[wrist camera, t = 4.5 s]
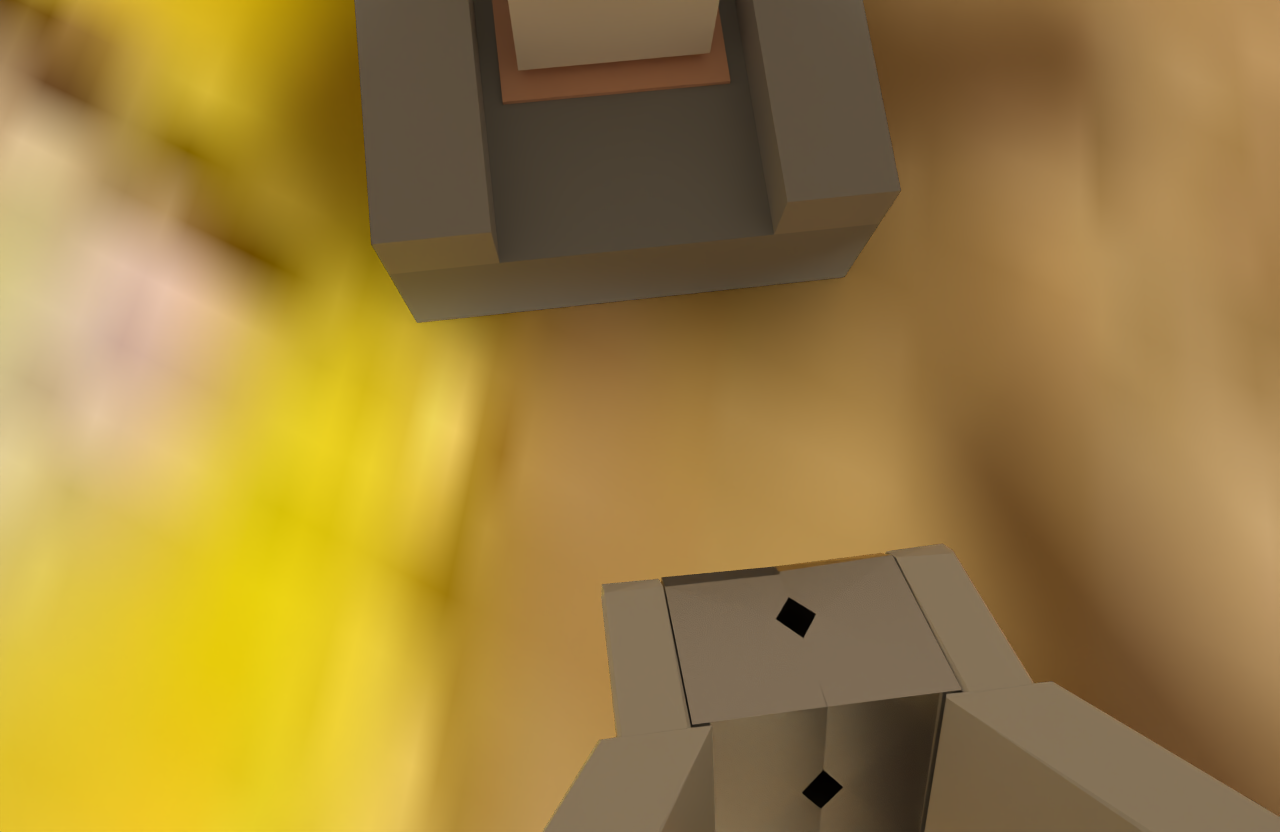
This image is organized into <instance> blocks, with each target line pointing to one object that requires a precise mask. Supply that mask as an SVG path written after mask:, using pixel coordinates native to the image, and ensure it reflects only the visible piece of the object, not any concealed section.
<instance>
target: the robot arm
mask: <svg viewBox="0 0 1280 832" xmlns="http://www.w3.org/2000/svg"><path fill="white" fill-rule="evenodd" d="M601 598H602V608H603V617H604V627H605V636H606V646H607V655H608V665H609V674H610V684H611V693H612V703H613V712H614V722H615V731H616V737H615V738H609V739H602V740H599V741H598V742H597V744H596V745H595V747H594V749H593V750H592V752H591V754H590V755H589V757H588V758H587V760H586V762H585V763H584V765H583V767H582V768H581V770H580V771H579V773H578V775H577V776H576V778H575V780H574V781H573V783H572V784H571V786H570V788H569V789H568V791H567V793H566V794H565V796H564V797H563V799H562V801H561V802H560V804H559V806H558V807H557V809H556V810H555V812H554V814H553V815H552V817H551V819H550V820H549V822H548V823H547V825H546V827H545V828H544V830H543V832H1280V817H1279V816H1277V815H1276V814H1274V813H1272V812H1271V811H1269V810H1267V809H1266V808H1264V807H1262V806H1261V805H1259V804H1257V803H1256V802H1254V801H1252V800H1250V799H1249V798H1247V797H1245V796H1244V795H1242V794H1240V793H1239V792H1237V791H1235V790H1234V789H1232V788H1230V787H1229V786H1227V785H1225V784H1224V783H1222V782H1220V781H1219V780H1217V779H1215V778H1214V777H1212V776H1210V775H1209V774H1207V773H1205V772H1204V771H1202V770H1200V769H1199V768H1197V767H1195V766H1193V765H1192V764H1190V763H1188V762H1187V761H1185V760H1183V759H1182V758H1180V757H1178V756H1177V755H1175V754H1173V753H1172V752H1170V751H1168V750H1167V749H1165V748H1163V747H1162V746H1160V745H1158V744H1157V743H1155V742H1153V741H1152V740H1150V739H1148V738H1147V737H1145V736H1143V735H1142V734H1140V733H1138V732H1137V731H1135V730H1133V729H1131V728H1130V727H1128V726H1126V725H1125V724H1123V723H1121V722H1120V721H1118V720H1116V719H1115V718H1113V717H1111V716H1110V715H1108V714H1106V713H1105V712H1103V711H1101V710H1100V709H1098V708H1096V707H1095V706H1093V705H1091V704H1090V703H1088V702H1086V701H1085V700H1083V699H1081V698H1080V697H1078V696H1076V695H1075V694H1073V693H1071V692H1069V691H1068V690H1066V689H1064V688H1063V687H1061V686H1059V685H1058V684H1056V683H1054V682H1053V681H1051V682H1041V683H1034V682H1033V681H1032V679H1031V677H1030V676H1029V674H1028V672H1027V671H1026V669H1025V667H1024V666H1023V664H1022V663H1021V661H1020V659H1019V658H1018V656H1017V654H1016V653H1015V651H1014V649H1013V648H1012V646H1011V645H1010V643H1009V641H1008V640H1007V638H1006V636H1005V635H1004V633H1003V631H1002V630H1001V628H1000V626H999V625H998V623H997V622H996V620H995V618H994V617H993V615H992V613H991V612H990V610H989V608H988V607H987V605H986V604H985V602H984V600H983V599H982V597H981V595H980V594H979V592H978V590H977V589H976V587H975V586H974V584H973V582H972V581H971V579H970V577H969V576H968V574H967V572H966V571H965V569H964V568H963V566H962V564H961V563H960V561H959V559H958V558H957V556H956V554H955V553H954V551H953V550H952V549H950V548H949V547H947V546H946V545H944V544H936V545H929V546H922V547H915V548H907V549H900V550H893V551H887V552H886V553H885V554H884V553H877V554H869V555H861V556H853V557H845V558H837V559H829V560H822V561H814V562H806V563H798V564H790V565H782V566H774V567H766V568H755V569H745V570H735V571H724V572H714V573H703V574H693V575H683V576H672V577H662V578H661V582H660V580H659V579H653V580H643V581H632V582H621V583H611V584H602V595H601Z"/></svg>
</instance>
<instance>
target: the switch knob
mask: <svg viewBox="0 0 1280 832" xmlns="http://www.w3.org/2000/svg"><path fill="white" fill-rule="evenodd" d="M508 5H509V11H510V18H511V25H512V31H513V38H514V45H515V52H516V58H517V65H518V71H519V70H530V69H541V68H552V67H563V66H574V65H585V64H596V63H607V62H618V61H629V60H640V59H651V58H662V57H673V56H684V55H695V54H706V53H710V50H711V44H712V39H713V33H714V28H715V22H716V17H717V11H718V6H719V0H508Z"/></svg>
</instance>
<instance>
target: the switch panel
mask: <svg viewBox="0 0 1280 832" xmlns="http://www.w3.org/2000/svg"><path fill="white" fill-rule="evenodd" d="M355 13H356V28H357V42H358V57H359V71H360V86H361V100H362V115H363V130H364V144H365V159H366V173H367V188H368V202H369V217H370V231H371V245H372V246H373V248H374V250H375V251H376V253H377V255H378V257H379V258H380V260H381V262H382V263H383V265H384V267H385V269H386V270H387V272H388V274H389V275H390V277H391V279H392V281H393V282H394V284H395V286H396V287H397V289H398V291H399V293H400V294H401V296H402V298H403V299H404V301H405V303H406V305H407V306H408V308H409V310H410V311H411V313H412V315H413V317H414V318H415V320H416V322H417V323H419V322H429V321H438V320H447V319H457V318H466V317H475V316H485V315H494V314H503V313H513V312H522V311H532V310H541V309H550V308H560V307H569V306H578V305H588V304H597V303H607V302H616V301H625V300H635V299H644V298H653V297H663V296H672V295H682V294H691V293H700V292H710V291H719V290H728V289H738V288H747V287H757V286H766V285H775V284H785V283H794V282H803V281H813V280H822V279H832V278H841V277H845V275H846V274H847V272H848V271H849V269H850V267H851V266H852V264H853V263H854V261H855V260H856V258H857V257H858V255H859V254H860V252H861V251H862V249H863V248H864V246H865V245H866V243H867V242H868V240H869V239H870V237H871V236H872V234H873V233H874V231H875V230H876V228H877V226H878V225H879V223H880V222H881V220H882V219H883V217H884V216H885V214H886V213H887V211H888V210H889V208H890V207H891V205H892V204H893V202H894V201H895V199H896V198H897V196H898V195H899V193H900V192H901V188H900V183H899V178H898V173H897V168H896V163H895V158H894V153H893V148H892V143H891V138H890V133H889V128H888V123H887V118H886V113H885V109H884V104H883V99H882V94H881V89H880V84H879V79H878V74H877V69H876V64H875V59H874V54H873V49H872V44H871V39H870V34H869V29H868V24H867V19H866V14H865V9H864V4H863V0H719V6H718V11H717V17H716V22H715V28H714V33H713V39H712V44H711V50H710V53H706V54H695V55H684V56H673V57H662V58H651V59H640V60H629V61H618V62H607V63H596V64H585V65H574V66H563V67H552V68H541V69H530V70H519V71H518V65H517V58H516V52H515V45H514V38H513V31H512V25H511V18H510V11H509V5H508V0H355Z"/></svg>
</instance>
